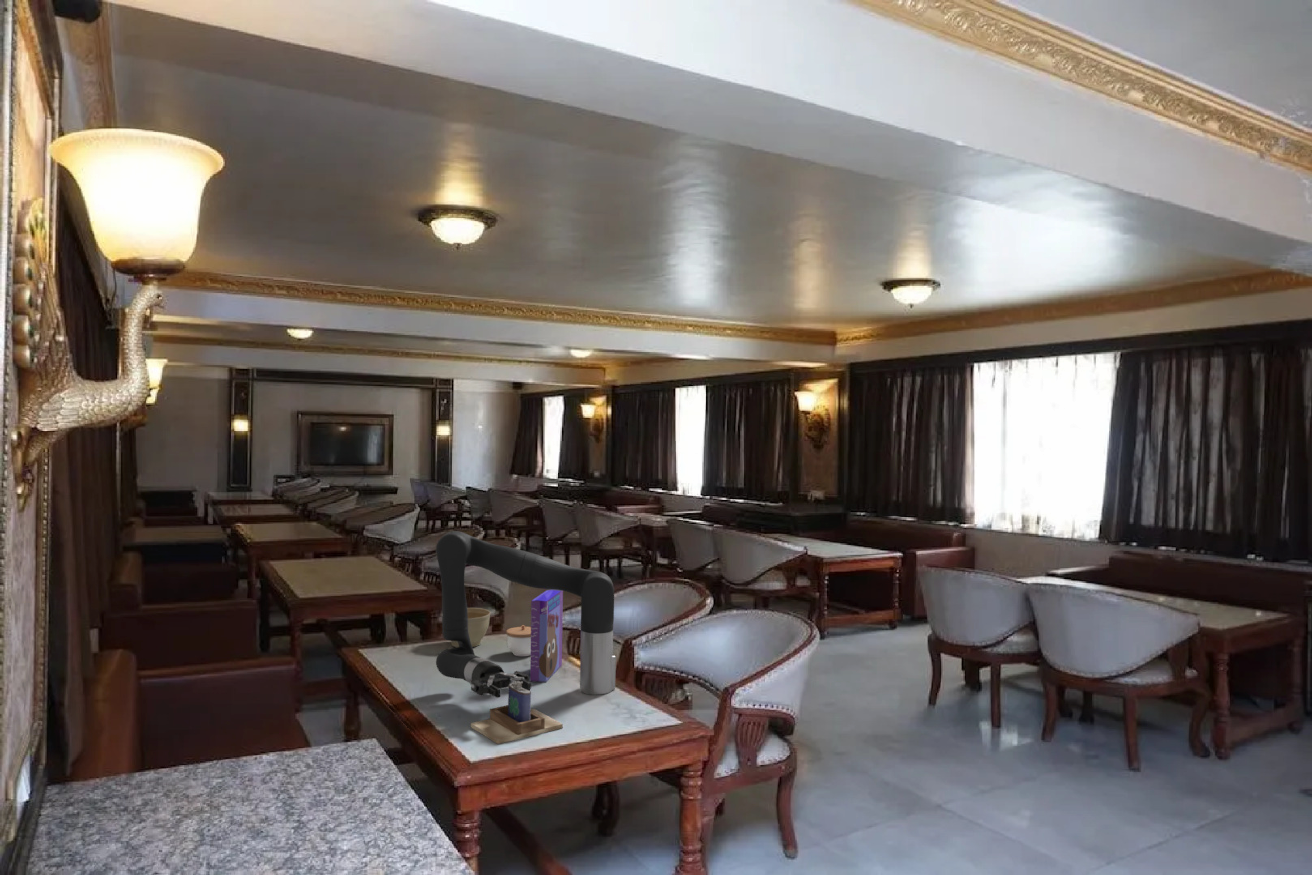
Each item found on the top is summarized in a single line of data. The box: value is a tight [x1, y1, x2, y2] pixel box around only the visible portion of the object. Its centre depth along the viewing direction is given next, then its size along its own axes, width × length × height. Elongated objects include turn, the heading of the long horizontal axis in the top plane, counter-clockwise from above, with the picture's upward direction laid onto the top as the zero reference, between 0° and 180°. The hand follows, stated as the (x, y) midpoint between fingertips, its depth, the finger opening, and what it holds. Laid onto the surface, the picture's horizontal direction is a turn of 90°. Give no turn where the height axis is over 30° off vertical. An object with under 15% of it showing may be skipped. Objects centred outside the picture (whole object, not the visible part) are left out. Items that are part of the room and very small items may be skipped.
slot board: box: [470, 704, 563, 745], centre depth 213 cm, size 18×14×4 cm
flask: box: [507, 681, 532, 723], centre depth 213 cm, size 9×3×11 cm, turn 38°
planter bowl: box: [450, 607, 491, 648], centre depth 291 cm, size 16×16×11 cm
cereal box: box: [529, 589, 564, 683], centre depth 259 cm, size 17×5×24 cm, turn 171°
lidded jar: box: [506, 624, 531, 657], centre depth 281 cm, size 11×11×9 cm
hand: (514, 690), depth 215 cm, fingers open, 8 cm apart
